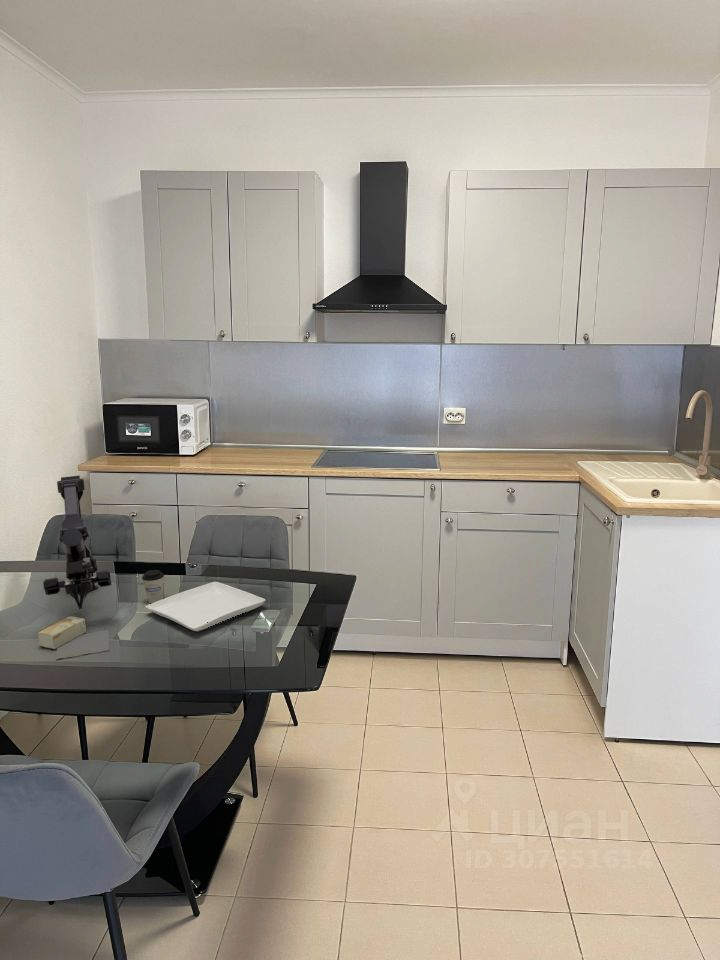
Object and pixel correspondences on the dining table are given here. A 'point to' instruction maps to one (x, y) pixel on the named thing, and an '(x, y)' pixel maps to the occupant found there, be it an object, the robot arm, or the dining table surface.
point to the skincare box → (61, 632)
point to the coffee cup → (153, 585)
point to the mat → (88, 642)
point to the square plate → (206, 605)
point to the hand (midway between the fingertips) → (80, 608)
